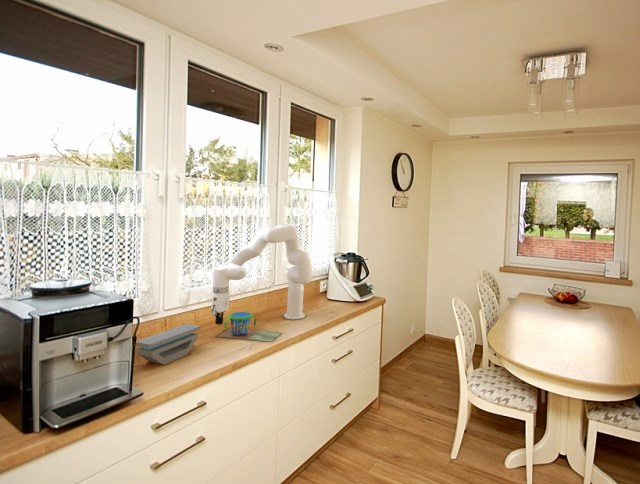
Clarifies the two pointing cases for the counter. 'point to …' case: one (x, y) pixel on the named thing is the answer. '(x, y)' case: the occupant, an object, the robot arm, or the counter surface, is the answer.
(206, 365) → the counter surface
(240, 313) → the snack cup
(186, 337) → the sharpening stone
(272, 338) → the placemat
